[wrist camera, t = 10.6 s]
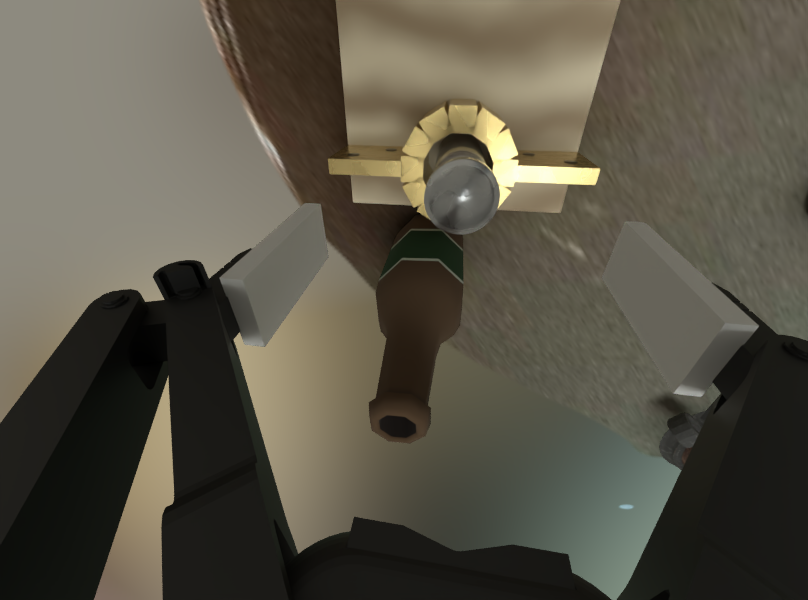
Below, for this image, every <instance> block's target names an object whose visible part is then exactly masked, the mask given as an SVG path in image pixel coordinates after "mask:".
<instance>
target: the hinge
mask: <svg viewBox="0 0 808 600" xmlns="http://www.w3.org/2000/svg"><path fill="white" fill-rule="evenodd" d="M451 133H460V134H472V135H473V136H474V137H476V138H477V139H479V140H480V141H482V142H483V143H484V144H486V145H487V148H488V154H487V162H486V165H487V166H488V167H489V168H490V169H491V170H492V172H493V173H494V175H495V177H496V179H497V182H498V185H499V189H500V201H499V205H498V208H499V206H500V205H501V204H502V203H503V201H504V200H505V199H506V198H507V196H508V195H509V194H510V193H511V190H510V187H514V182H534V183H558V184H582V185H595V184H596V181H597V178H598V175H599V172H600V168H599V167H598V166H596V165H595V164H594V163H592V162H591V161H589V160H588V159H587V158H585V157H584V156H582V155H581V154H580V153H578V152H562V151H530V150H516V147H515V144H514V142H513V139H512V136H511V133H510V130H509V128H508V127H507V126H506V124H505V123H504V121H503V120H502V119H501V118H500V116H499V115H498V114H497V113H495V112H494V111H493V110H491V109H490V108H488V107H487V106H486V105H484V104H483V103H482V102H480V101H479V102H478V103H476V101H475V99H451V101H450V104H449V105H448V102H447V100H446V101H445V102H443V103H441V104H440V105H438V106H437V107H435V108H433V109H432V110H430V111H429V112H427V113H426V114H425V115H424V116H423V117H422V118H421V120H420V121H419V122H418V123H417V125H416V126H415V128H414V130H413V131H412V133H411V135H410V137H409V139H408V141H407V143H406V144H405V146H404V147H403V146H371V145H347V146H346V147H344V148H343V149H341V150H340V151H338V152H337V153H335V154H334V155H332V156H331V157H330V158H328V164H329V173H330V174H343V175H367V176H391V177H401V182H404V184H403V186H402V188H403V189H404V191H405V193H406V195H407V197H408V198H409V200H410V202H411V204H412V206H413V208H414V207H416V206H418V205H419V206H418V209H417V212H419V213H420V214H422V215H424V216H425V217H427V218H428V219H430V218H429V217H428V215H427V213H426V210H425V206H424V193H425V189H426V185H427V182H428V179H429V178H430V176H431V174H432V173H433V170H432V168H431V166H430V164H429V150H430V149H431V147H432V145H433V143H435V142H437V141H438V140H440V139H442V138H444V137H445V136H447V135H449V134H451ZM498 208H497V209H498Z"/></svg>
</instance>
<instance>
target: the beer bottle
mask: <svg viewBox="0 0 808 600" xmlns="http://www.w3.org/2000/svg"><path fill="white" fill-rule="evenodd" d="M462 296H463V237H462V234H451V233H448V232H445V231H443V230H441V229H439V228H438V227H437V226H436V225H435V224H433V222H432V221H431V220H430V219H428V218H427V217H425V216H424V215H415V216H414V217H413V218H412V219H411V220H410V221H409V222H408V223H407V224H406V225H405V226H404V227H403V228H402V229H401V230H400V231H399V232H398V234H397V236H396V238H395V240H394V243H393V245H392V248H391V251H390V253H389V256H388V258H387V261H386V263H385V266H384V269H383V271H382V274H381V276H380V279H379V282H378V286H377V290H376V300H377V309H378V317H379V324H380V329H381V332H382V333H383V334H384V336H385V337H386V338H387V340H386V345H385V350H384V356H383V361H382V367H381V373H380V378H379V383H378V389H377V394H376V398H375V399H374V400H372V401H370V402H369V416H370V423H371V428H372V431H373V432H375V433H377V434H378V435H380V436H381V437H383V438H384V439H386V440H387V441H392V442H401V443H412V442H414V441H416V440H418V439H420V438H422V437H424V436H425V435H426V433H427V431H428V428H429V426H430V424H431V423H430V422H431V421H430V419H431V416H430V415H431V413H430V412H431V408H430V407H429V406H428V401H429V395H430V390H431V384H432V378H433V372H434V366H435V360H436V356H437V353H438V350H439V347H440V344H441V343H443V342H444V341H446V340H447V339H449V338H450V337H452V336H453V335H454V334H455V332H456V331H457V329H458V328H459V326H460V320H461V311H462Z"/></svg>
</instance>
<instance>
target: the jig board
mask: <svg viewBox="0 0 808 600" xmlns="http://www.w3.org/2000/svg"><path fill="white" fill-rule="evenodd" d="M619 3H620V0H336V8H337V20H338V32H339V43H340V55H341V67H342V79H343V90H344V102H345V114H346V125H347V137H348V145H371V146H403V147H404V146H405V144H406V143H407V141H408V139H409V137H410V135H411V133H412V131H413V130H414V128H415V126H416V125H417V123H418V122H419V121H420V120H421V118H422V117H423V116H424V115H425V114H426V113H427V112H429V111H430V110H432V109H433V108H435V107H437V106H438V105H440V104H441V103H443V102H445V101H446V100H447V102H448V105H449V104H450V101H451V99H475V101H476V103H478V102H479V101H480V102H482V103H483V104H484V105H486V106H487V107H488V108H490V109H491V110H493V111H494V112H495V113H497V114H498V115H499V116H500V118H501V119H502V120H503V121H504V123H505V124H506V126H507V127H508V128H509V130H510V133H511V136H512V139H513V142H514V144H515V147H516V150H530V151H562V152H578V149H579V145H580V142H581V138H582V134H583V131H584V127H585V124H586V120H587V117H588V113H589V110H590V106H591V103H592V99H593V95H594V92H595V88H596V85H597V81H598V78H599V74H600V71H601V67H602V64H603V60H604V57H605V53H606V49H607V46H608V42H609V39H610V35H611V32H612V28H613V25H614V21H615V18H616V14H617V10H618V7H619ZM449 135H450V134H449ZM447 136H448V135H447ZM447 136H445V137H444V138H442V139H440V140H438V141H437V142H435V143H433V145H432V147H431V149H430V150H429V164H430V166H431V168H432V170H433V171H434V169H435V164H436V159H437V154H438V150H439V147H440V144H441V143H442V141H443V140H444V139H445V138H446V137H447ZM475 138H476V137H475ZM476 139H477V138H476ZM477 140H478V142H479V144H480V147H481V150H482V153H483V156H484V159H485V162H487V154H488V148H487V145H486V144H484V143H483V142H482V141H480V140H479V139H477ZM351 184H352V196H353V202H355V203H374V204H394V205H412V204H411V202H410V200H409V198H408V197H407V195H406V193H405V191H404V189H403V188H402V186H403V184H404V182H401V177H391V176H367V175H351ZM567 188H568V184H558V183H534V182H514V187H510V190H511V193H510V194H509V195H508V196H507V198H506V199H505V200H504V201H503V203H502V204H501V205H500V206H499V208H498V209H497V210H511V211H531V212H550V213H560V212H561V209H562V205H563V202H564V198H565V195H566V191H567ZM418 206H419V205H418Z"/></svg>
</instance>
